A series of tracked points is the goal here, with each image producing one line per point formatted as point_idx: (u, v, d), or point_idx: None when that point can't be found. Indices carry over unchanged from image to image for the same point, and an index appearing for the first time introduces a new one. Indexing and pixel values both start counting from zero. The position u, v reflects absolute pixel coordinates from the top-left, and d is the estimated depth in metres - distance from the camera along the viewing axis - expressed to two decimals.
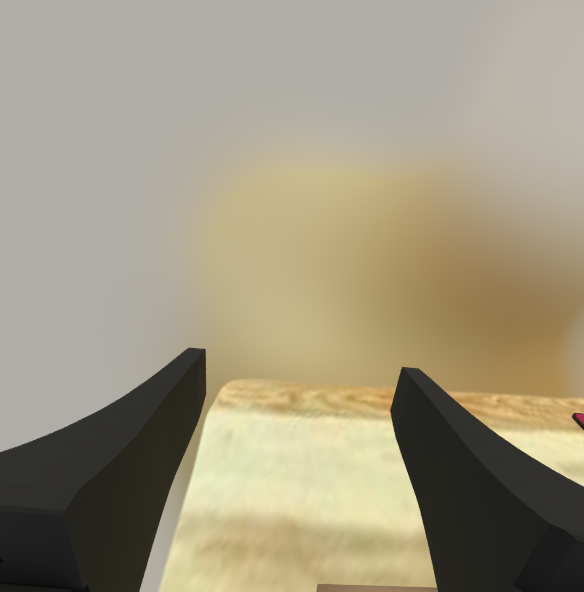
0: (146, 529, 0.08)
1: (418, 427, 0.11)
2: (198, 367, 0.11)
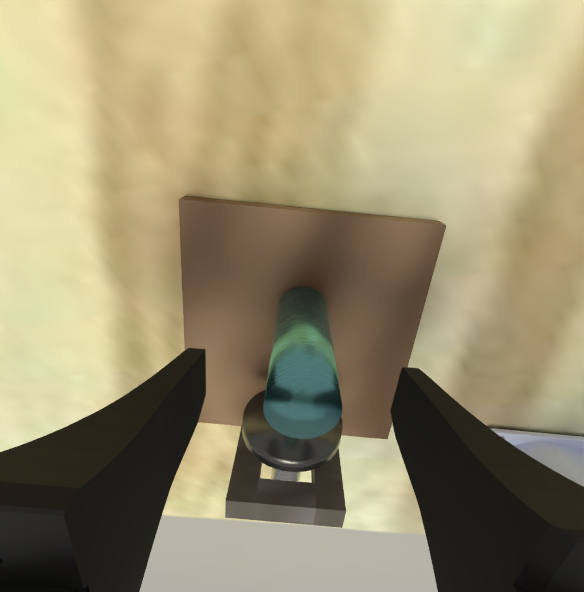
0: (146, 529, 0.08)
1: (418, 427, 0.11)
2: (198, 367, 0.11)
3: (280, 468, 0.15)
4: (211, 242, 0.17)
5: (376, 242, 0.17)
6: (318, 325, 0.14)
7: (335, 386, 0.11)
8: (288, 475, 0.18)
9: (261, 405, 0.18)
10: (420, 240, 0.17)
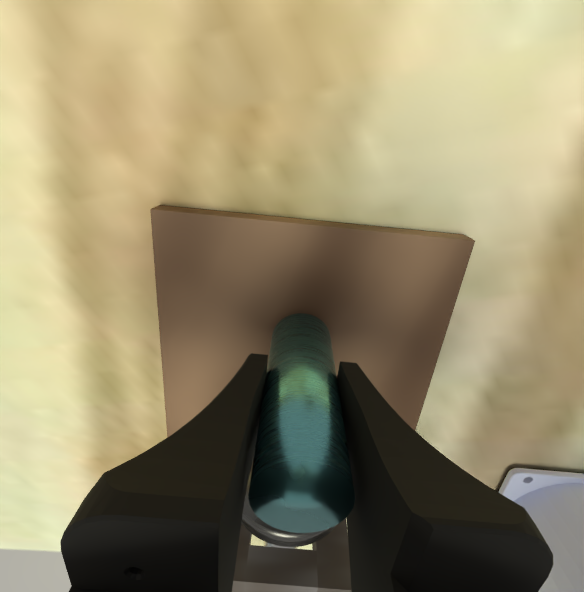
0: (237, 537, 0.08)
1: (346, 421, 0.11)
2: (265, 373, 0.11)
3: (274, 542, 0.12)
4: (191, 260, 0.14)
5: (390, 261, 0.14)
6: (321, 371, 0.11)
7: (345, 469, 0.08)
8: None
9: None
10: (443, 258, 0.14)
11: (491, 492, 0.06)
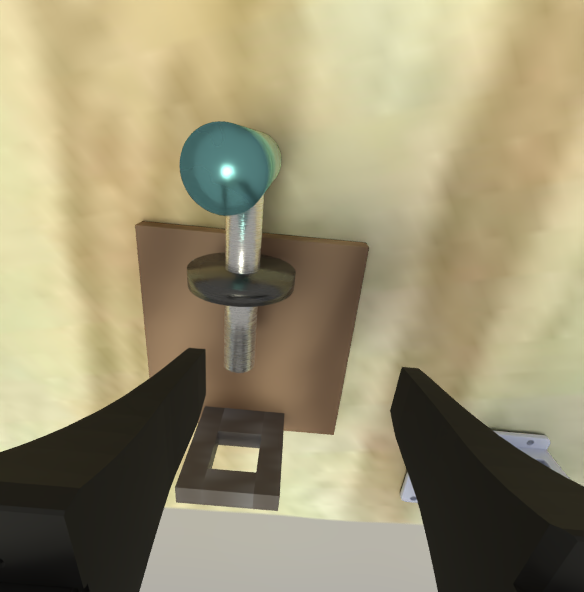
0: (146, 529, 0.08)
1: (418, 427, 0.11)
2: (198, 367, 0.11)
3: (222, 302, 0.14)
4: (165, 261, 0.20)
5: (310, 262, 0.20)
6: (258, 132, 0.13)
7: (259, 143, 0.10)
8: (239, 335, 0.17)
9: (209, 260, 0.17)
10: (347, 260, 0.19)
11: None
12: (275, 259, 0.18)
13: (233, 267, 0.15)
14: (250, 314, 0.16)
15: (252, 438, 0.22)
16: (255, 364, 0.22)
